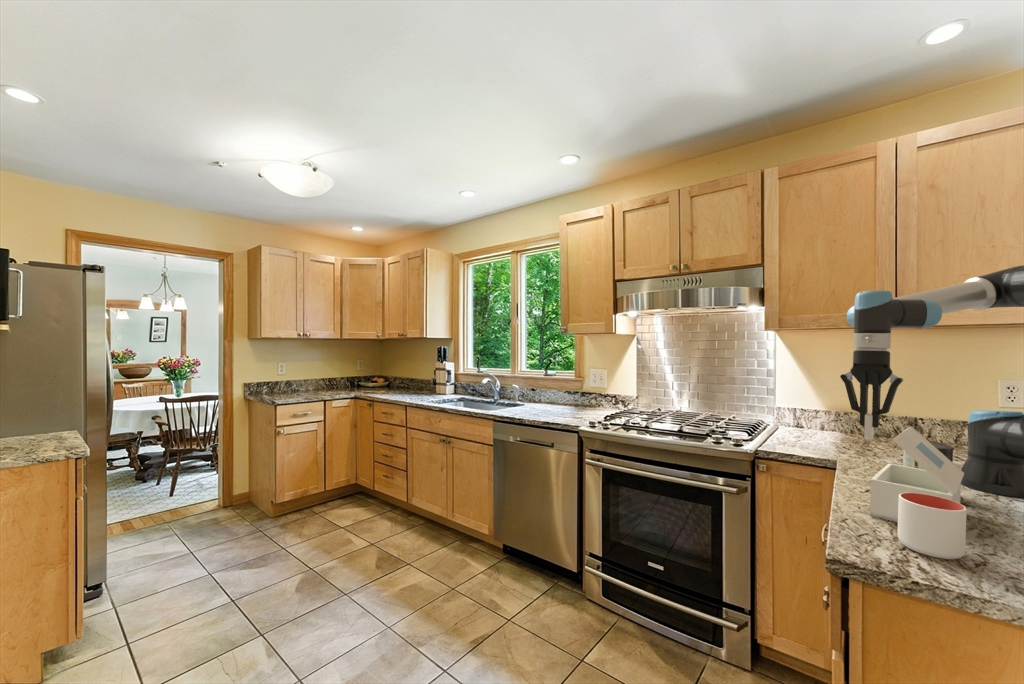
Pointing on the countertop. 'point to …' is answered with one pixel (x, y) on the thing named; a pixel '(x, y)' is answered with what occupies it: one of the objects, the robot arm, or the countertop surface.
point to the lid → (930, 459)
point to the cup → (932, 525)
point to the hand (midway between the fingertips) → (868, 438)
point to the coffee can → (943, 448)
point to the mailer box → (902, 489)
